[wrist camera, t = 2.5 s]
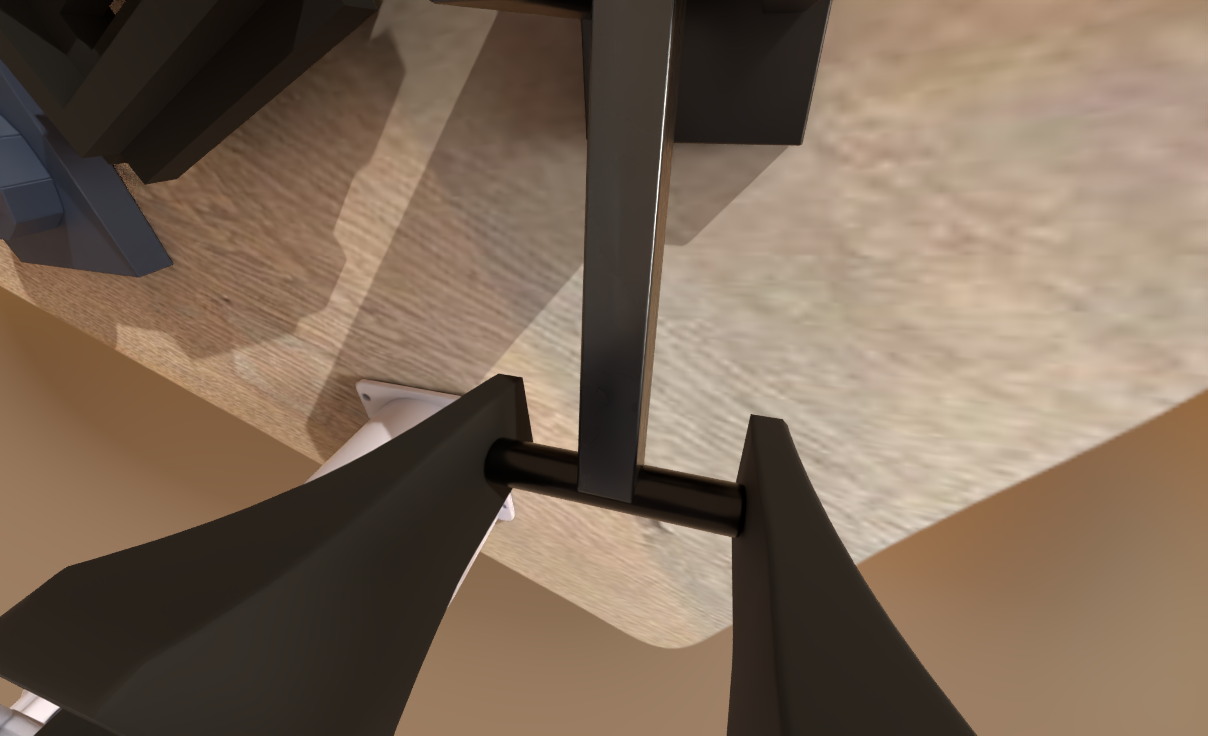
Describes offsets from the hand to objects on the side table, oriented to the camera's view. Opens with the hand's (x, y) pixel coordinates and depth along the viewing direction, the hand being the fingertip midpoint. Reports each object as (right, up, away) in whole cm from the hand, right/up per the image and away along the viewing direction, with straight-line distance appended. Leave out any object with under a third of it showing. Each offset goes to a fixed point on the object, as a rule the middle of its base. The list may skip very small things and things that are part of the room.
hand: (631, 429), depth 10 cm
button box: (-28, +12, +12) cm, 32 cm away
